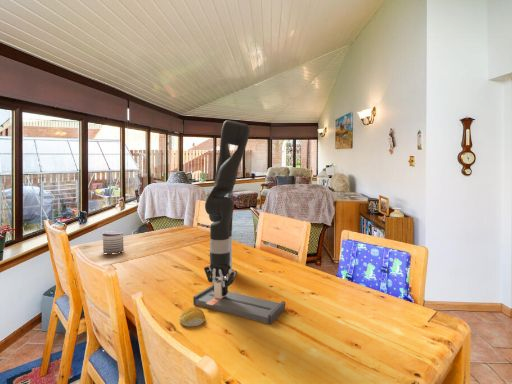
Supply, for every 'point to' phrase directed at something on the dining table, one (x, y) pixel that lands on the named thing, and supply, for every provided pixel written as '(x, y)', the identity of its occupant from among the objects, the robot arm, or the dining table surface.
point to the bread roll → (192, 317)
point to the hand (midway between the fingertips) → (220, 294)
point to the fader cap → (218, 289)
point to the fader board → (241, 305)
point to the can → (113, 242)
